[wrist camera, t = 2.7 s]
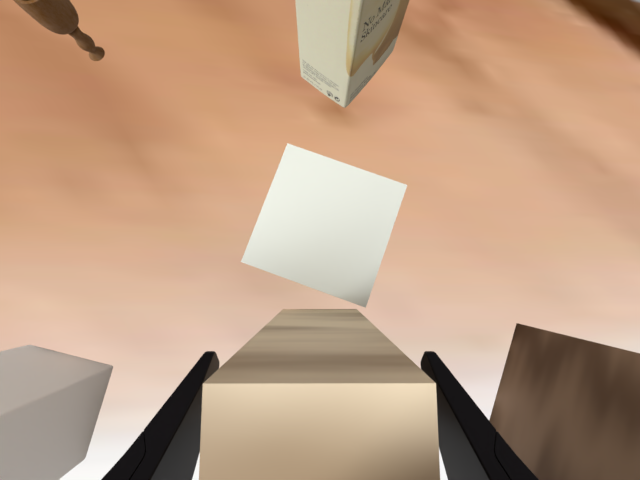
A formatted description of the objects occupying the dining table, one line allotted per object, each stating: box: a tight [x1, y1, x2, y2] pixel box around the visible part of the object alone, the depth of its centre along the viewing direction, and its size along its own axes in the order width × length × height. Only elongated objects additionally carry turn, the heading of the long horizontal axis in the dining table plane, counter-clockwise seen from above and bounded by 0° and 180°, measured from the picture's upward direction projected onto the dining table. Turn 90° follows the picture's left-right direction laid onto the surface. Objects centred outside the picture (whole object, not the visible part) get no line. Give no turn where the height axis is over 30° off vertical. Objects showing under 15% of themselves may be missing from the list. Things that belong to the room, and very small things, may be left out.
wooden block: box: [199, 309, 440, 480], centre depth 13 cm, size 5×5×14 cm
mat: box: [241, 143, 407, 308], centre depth 21 cm, size 9×9×1 cm
